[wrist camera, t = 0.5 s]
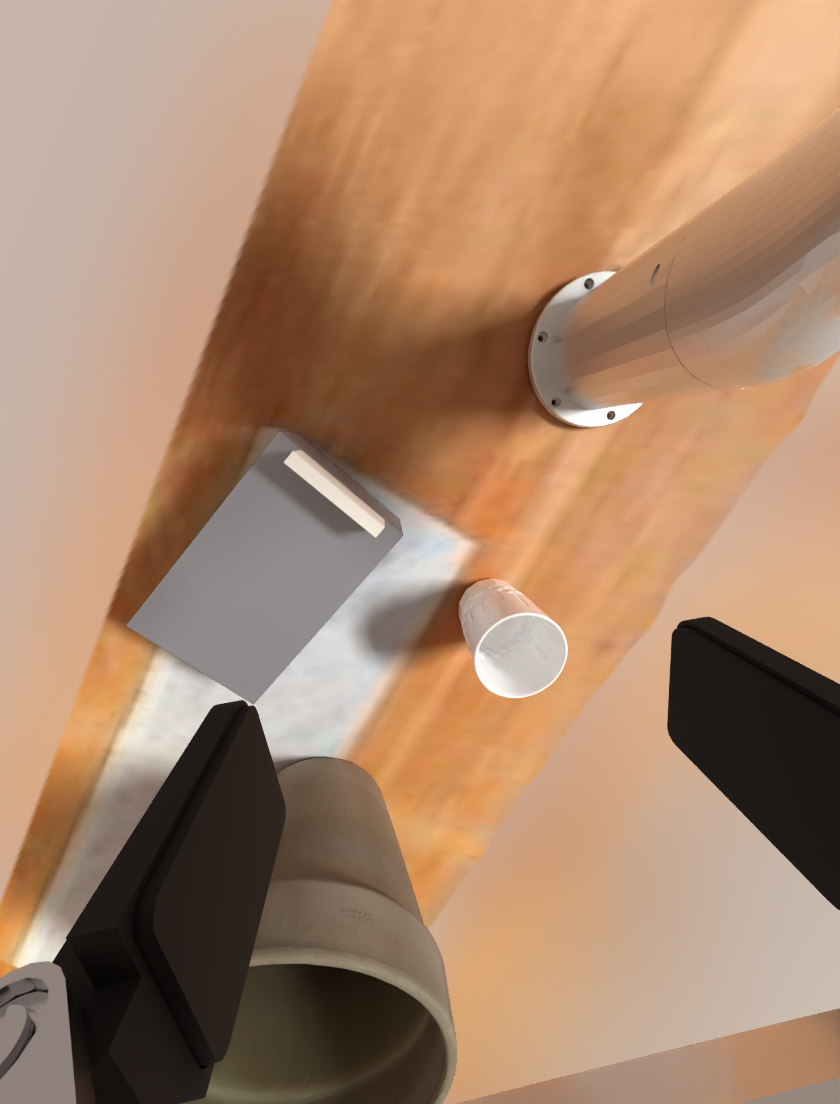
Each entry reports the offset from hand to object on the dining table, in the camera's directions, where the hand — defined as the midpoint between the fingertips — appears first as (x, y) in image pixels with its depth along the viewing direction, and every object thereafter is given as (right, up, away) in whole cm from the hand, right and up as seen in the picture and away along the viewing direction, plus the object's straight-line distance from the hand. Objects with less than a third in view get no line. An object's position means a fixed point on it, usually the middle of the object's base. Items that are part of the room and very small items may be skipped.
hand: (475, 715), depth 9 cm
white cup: (+6, -2, +33) cm, 34 cm away
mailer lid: (-14, +2, +23) cm, 27 cm away
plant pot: (-13, -26, +38) cm, 48 cm away
